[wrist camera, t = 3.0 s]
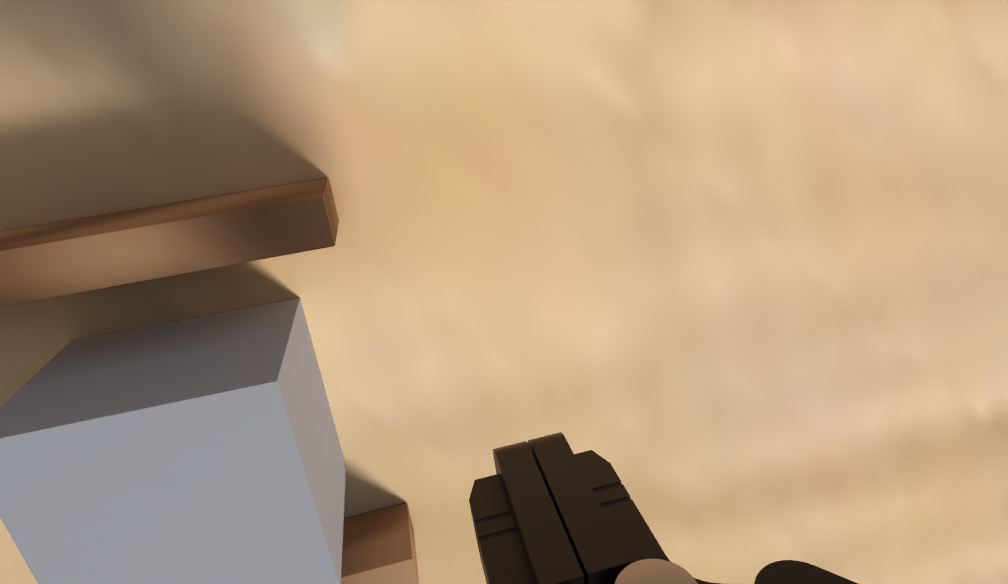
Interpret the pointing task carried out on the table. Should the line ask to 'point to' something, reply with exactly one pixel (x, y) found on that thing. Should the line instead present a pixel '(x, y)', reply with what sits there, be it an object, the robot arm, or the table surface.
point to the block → (178, 456)
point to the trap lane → (193, 247)
